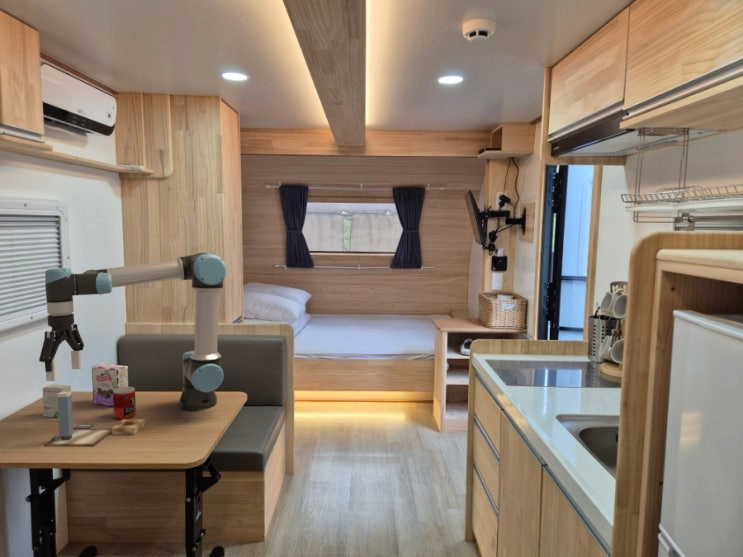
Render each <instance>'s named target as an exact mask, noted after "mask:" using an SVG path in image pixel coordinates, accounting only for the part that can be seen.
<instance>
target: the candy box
mask: <svg viewBox="0 0 743 557" xmlns="http://www.w3.org/2000/svg"><path fill="white" fill-rule="evenodd" d="M128 368H129V366H128V365H119V364H112V363H104V362H101V363H97V364H96V365H92V366H91V379H92V380H91V382H92V403H93V404H94V405H100V406H104V407H105V406H106V407H111V408H112V407H113V390H114V389H116V388H120V387H129V369H128Z"/></svg>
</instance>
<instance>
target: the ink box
mask: <svg viewBox="0 0 743 557" xmlns="http://www.w3.org/2000/svg"><path fill="white" fill-rule="evenodd" d="M60 392H72V385H70V384H69V385H68V384H54V383H52V384H49V385H46V386H43V387H42V416H44V417H45V418H58V400H57V394H58V393H60ZM46 416H47V417H46ZM44 417H43V418H44Z"/></svg>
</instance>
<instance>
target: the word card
mask: <svg viewBox="0 0 743 557" xmlns="http://www.w3.org/2000/svg"><path fill="white" fill-rule="evenodd" d="M95 425H96V423H78V424H76V425H75V426H73V429H92V428H93V427H95Z"/></svg>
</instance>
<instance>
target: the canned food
mask: <svg viewBox="0 0 743 557" xmlns="http://www.w3.org/2000/svg"><path fill="white" fill-rule="evenodd" d="M136 406H137V405H136V388H135V387H134V386H128V387H120V388H116V389H114V390H113V417H114V419H115V420H118V421H122V420H123V419H134V417H135V416H136V413H137V411H136V410H137V408H136Z"/></svg>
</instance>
